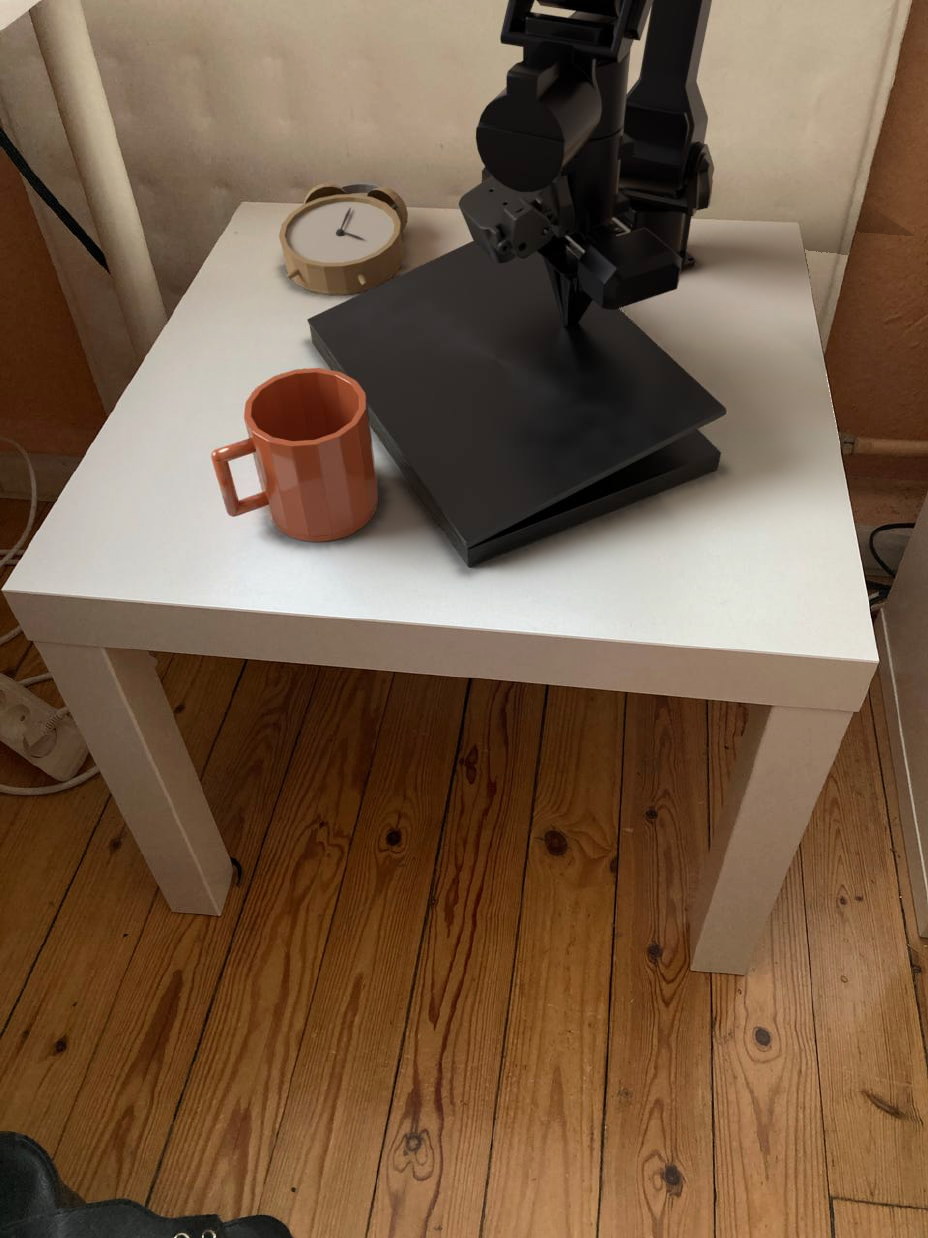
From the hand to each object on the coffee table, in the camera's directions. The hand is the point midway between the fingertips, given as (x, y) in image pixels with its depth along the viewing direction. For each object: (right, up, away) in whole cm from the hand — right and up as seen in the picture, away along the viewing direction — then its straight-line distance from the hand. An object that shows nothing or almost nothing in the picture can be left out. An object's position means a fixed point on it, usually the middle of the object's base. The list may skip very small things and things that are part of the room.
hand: (570, 322), depth 80 cm
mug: (-20, -15, -5) cm, 26 cm away
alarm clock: (-19, +12, +18) cm, 29 cm away
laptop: (-5, -6, +2) cm, 8 cm away
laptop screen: (-6, -4, 0) cm, 7 cm away
